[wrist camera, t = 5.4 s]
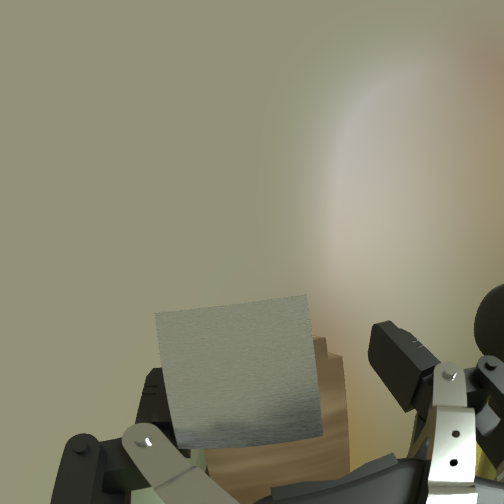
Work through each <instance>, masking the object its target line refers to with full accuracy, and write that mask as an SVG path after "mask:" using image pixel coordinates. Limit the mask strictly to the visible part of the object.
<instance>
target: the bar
mask: <svg viewBox="0 0 504 504" xmlns="http://www.w3.org/2000/svg"><path fill="white" fill-rule="evenodd" d="M155 316H156V326H157V334H158V342H159V350H160V356H161V363H162V370H163V376H164V382H165V388H166V394H167V399H168V404H169V409H170V414H171V419H172V424H173V428H174V433H175V437H176V441H177V445H178V449H222V448H240V447H252V446H262V445H271V444H279V443H286V442H292V441H298V440H304V439H310V438H315V437H320V436H323V429H322V418H321V407H320V397H319V388H318V378H317V370H316V361H315V353H314V345H313V337H312V330H311V324H310V316H309V309H308V302H307V296H306V294H304V295H298V296H291V297H285V298H279V299H271V300H264V301H257V302H249V303H242V304H234V305H226V306H217V307H208V308H199V309H189V310H180V311H170V312H158V313H155Z"/></svg>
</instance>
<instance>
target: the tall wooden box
mask: <svg viewBox="0 0 504 504" xmlns="http://www.w3.org/2000/svg"><path fill="white" fill-rule="evenodd" d="M312 337H313V345H314V353H315V361H316V370H317V378H318V388H319V397H320V407H321V418H322V429H323V436H320V437H315V438H310V439H304V440H298V441H292V442H286V443H279V444H271V445H262V446H252V447H240V448H222V449H203V450H204V454H205V459H206V463H207V467H208V471H209V475H210V478H211V479H212V480H213V481H214V482H215V483H217V484H218V485H219V486H220V487H221V488H222V489H223V490H225V491H226V492H227V493H228V494H229V495H230V496H232V497H233V498H234V499H235V500H237V501H238V502H239V503H240V504H253V503H254V502H256V501H258V500H260V499H262V498H264V497H266V496H269V495H271V490H270V488H271V487H277V486H283V485H288V484H293V483H298V482H303V481H325V480H337V479H340V478H342V477H344V476H345V475H347V474H349V473H350V463H349V435H348V418H347V403H346V390H345V379H344V370H343V360H342V356H339V355H336V354H332V353H329V352H327V345H326V339H325V338H324V337H318V336H313V335H312Z"/></svg>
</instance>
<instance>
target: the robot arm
mask: <svg viewBox="0 0 504 504" xmlns="http://www.w3.org/2000/svg"><path fill="white" fill-rule="evenodd" d="M474 336H475V340H476V344H477V346H478V348H479V350H480V351H481V352H482V354H483V355H484V356H483V357H481V358H480V359H479V360H478V363H477V365H476V367H474V368H469V369H462V368H461V367H460V366H458V365H457V364H455V363H451V362H443V363H441V362H440V361H439V360H438V359H437V358H436V357H435V356H434V355H433V354H432V353H431V352H430V351H429V350H428V349H427V348H426V347H424V346H422V344H421V343H420V342H419V341H417V339H416V338H415V337H414V336H413V335H412V334H411V333H409V332H407V331H405V330H403V329H399V328H398V327H397V326H396V325H394V324H393V323H392V322H391V321H385V322H381V323H377V324H374V325H373V326H372V330H371V337H370V343H369V349H368V359H369V362H370V364H371V366H372V367H373V369H374V370H375V372H376V373H377V374H378V376H379V377H380V378H381V380H382V381H383V382H384V384H385V385H386V387H387V388H388V389H389V391H390V392H391V393H392V395H393V396H394V398H395V399H396V400H397V401H398V403H399V405H400V406H401V407H402V409H403V410H404V412H405V413H406V412H409V411H411V410H413V409H416V411H417V413H416V416H415V420H414V427H413V433H412V439H411V443H410V448H409V452H408V455H407V457H406V458H402V459H396V457H395V456H394V454H393V453H391V454H388V455H386V456H383V457H381V458H379V459H376V460H373V461H370V462H368V463H365V464H364V465H362V466H361V467H359V468H357V469H356V470H354V471H352V472H351V473H349V474H347V475H345V476H344V477H342V478H340V479H337V480H325V481H303V482H298V483H293V484H288V485H283V486H277V487H271V488H270V490H271V495H269V496H266V497H264V498H262V499H260V500H258V501H256V502H254V503H253V504H504V284H502V285H500V286H497V287H495V288H494V289H492V290H491V291H490V292H489V293H488V294H487V295H486V296H485V297H484V299H483V300H482V302H481V304H480V306H479V308H478V310H477V314H476V317H475V322H474ZM487 402H488V404H487ZM476 442H477V443H478V444H479V446H480V447H481V449H482V452H481V457H480V462H479V466H478V470H477V474H476V476H474V470H475V445H476ZM186 458H191V449H178V445H177V441H176V437H175V433H174V428H173V424H172V419H171V414H170V409H169V404H168V399H167V394H166V388H165V382H164V376H163V370H162V368H153V369H152V370H151V372H150V373H149V374H148V375H147V376H146V380H145V384H144V388H143V392H142V396H141V400H140V405H139V408H138V413H137V417H136V422H135V425H132V426H131V427H129V428H128V429H127V430H126V431H125V432H124V433H123V436H122V437H121V438H117V439H113V440H107V441H102V442H99V441H98V440H97V439H96V438H95V437H94V436H92V435H90V434H84V433H83V434H78V435H75V436H73V437H72V438H70V439H69V440H68V442H67V443H66V446H65V449H64V452H63V455H62V459H61V462H60V466H59V469H58V473H57V477H56V481H55V485H54V489H53V494H52V499H51V503H50V504H131V491H134V490H139V489H144V488H149V487H153V489H154V491H155V492H156V493H157V494H158V496H159V497H160V498H161V499H162V501H163V502H164V503H165V504H240V503H239V502H238V501H237V500H235V499H234V498H233V497H232V496H230V495H229V494H228V493H227V492H226V491H225V490H223V489H222V488H221V487H220V486H219V485H218V484H217V483H215V482H214V481H213V480H212V479H211V478H210V477H209V476H208V475H207V474H206V473H205V472H203V471H202V470H201V469H200V468H199V467H197V466H193V465H192V464H191V463H190V462H189V461H188V460H187V459H186Z"/></svg>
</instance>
